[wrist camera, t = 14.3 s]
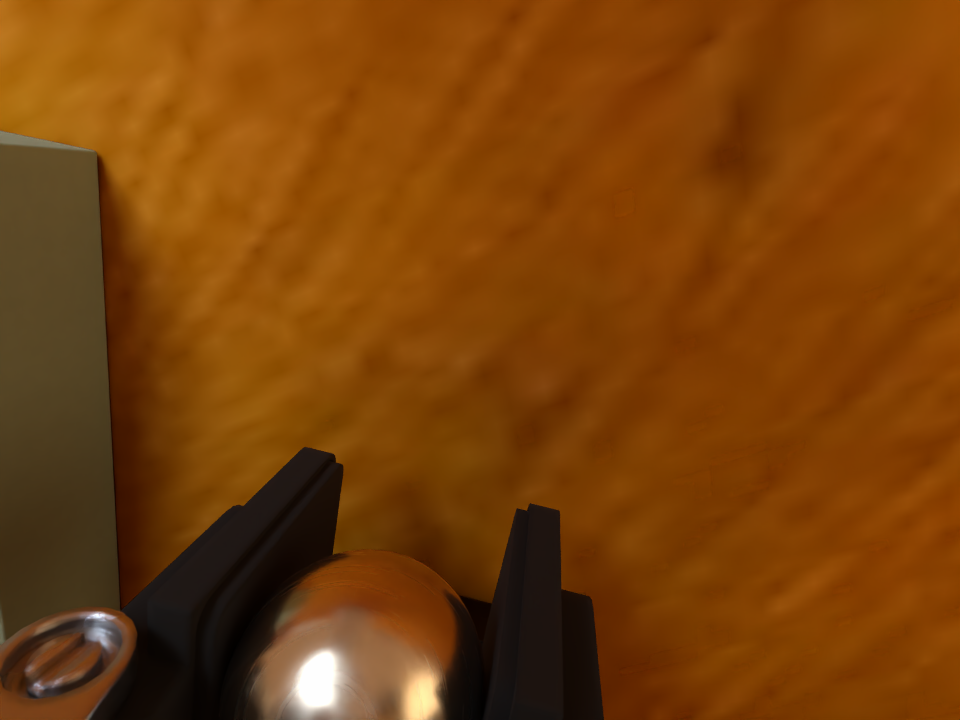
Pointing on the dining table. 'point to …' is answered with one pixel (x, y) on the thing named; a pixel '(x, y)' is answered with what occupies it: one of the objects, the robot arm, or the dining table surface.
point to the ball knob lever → (358, 646)
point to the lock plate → (53, 388)
